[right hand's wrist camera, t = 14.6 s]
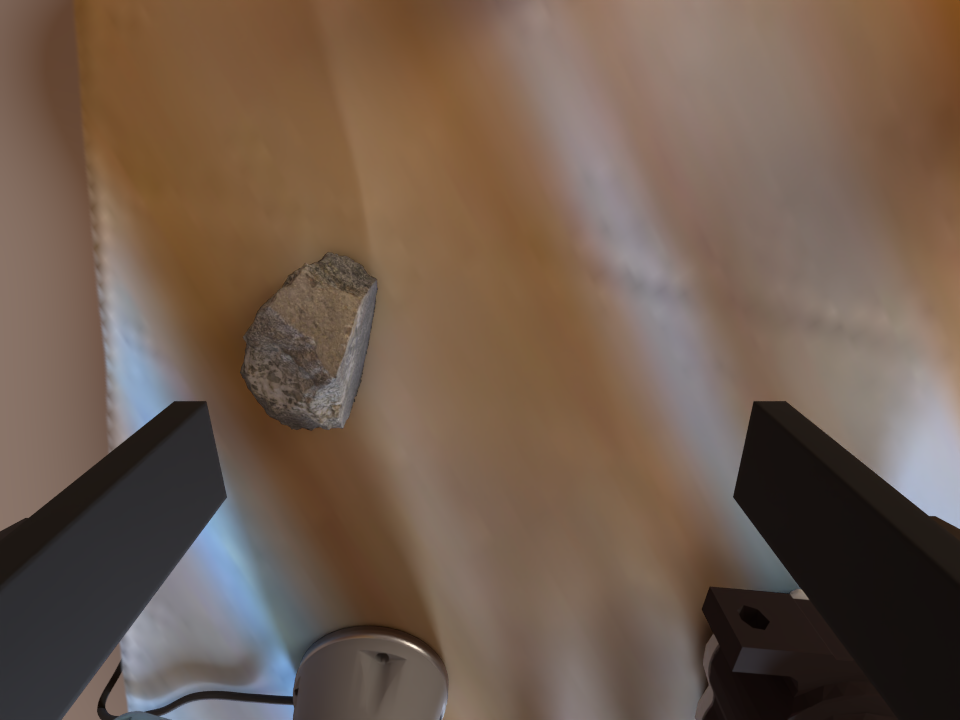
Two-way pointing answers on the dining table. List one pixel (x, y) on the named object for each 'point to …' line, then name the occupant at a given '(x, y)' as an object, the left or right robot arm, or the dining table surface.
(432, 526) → the dining table surface
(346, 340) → the rock
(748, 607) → the mechanical component
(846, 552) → the right robot arm
